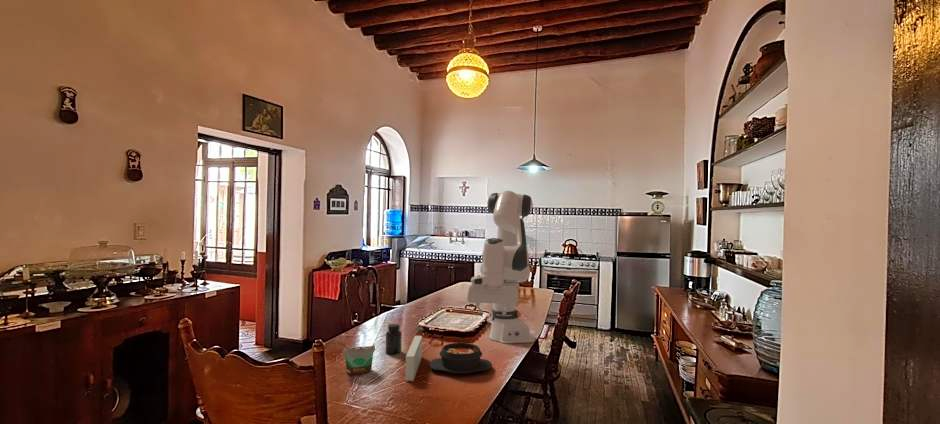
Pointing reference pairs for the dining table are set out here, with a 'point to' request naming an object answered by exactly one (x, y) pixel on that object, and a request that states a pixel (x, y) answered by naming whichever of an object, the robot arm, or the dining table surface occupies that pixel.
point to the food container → (359, 360)
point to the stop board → (413, 358)
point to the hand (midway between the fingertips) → (492, 314)
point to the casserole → (460, 359)
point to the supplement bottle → (393, 340)
